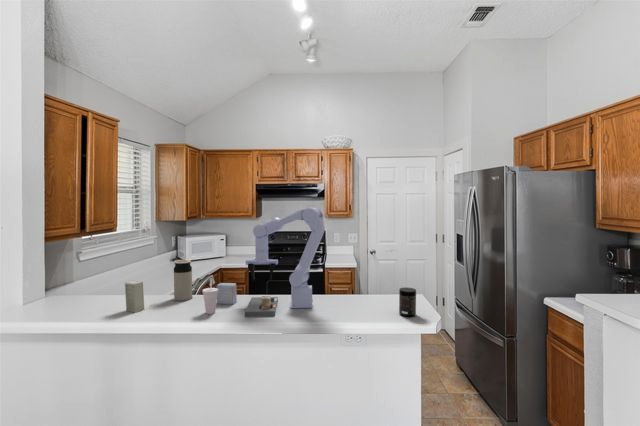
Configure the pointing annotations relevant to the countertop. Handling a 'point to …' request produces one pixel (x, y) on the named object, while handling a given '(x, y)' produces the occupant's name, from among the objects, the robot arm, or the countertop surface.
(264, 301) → the tan rectangular block
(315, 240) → the robot arm
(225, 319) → the countertop surface
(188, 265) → the travel mug
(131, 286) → the skincare box
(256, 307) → the dock
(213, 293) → the smoothie
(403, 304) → the supplement container
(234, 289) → the medicine box
